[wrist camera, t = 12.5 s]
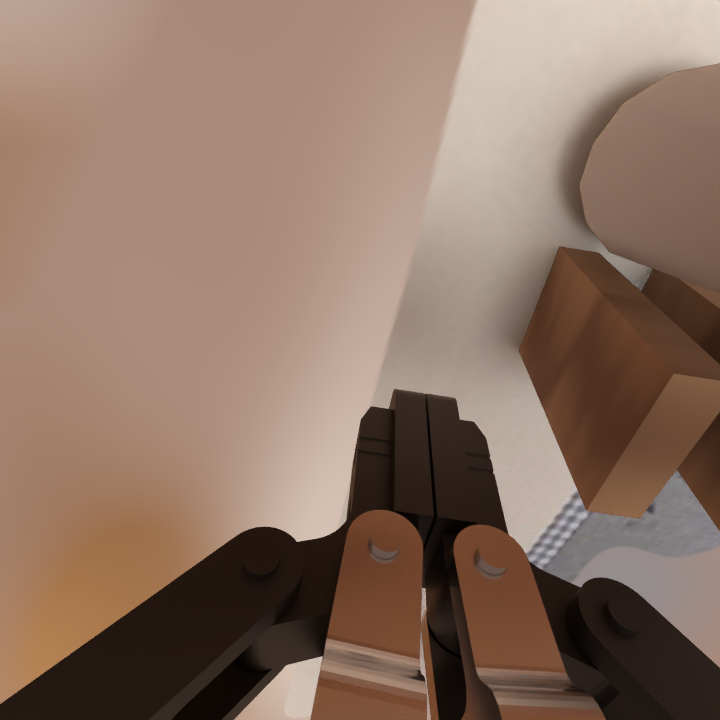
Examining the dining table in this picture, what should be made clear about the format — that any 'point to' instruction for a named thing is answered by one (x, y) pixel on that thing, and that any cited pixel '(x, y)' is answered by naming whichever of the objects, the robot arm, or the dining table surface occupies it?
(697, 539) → the dining table surface
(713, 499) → the domino
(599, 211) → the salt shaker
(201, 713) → the robot arm
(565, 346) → the domino
